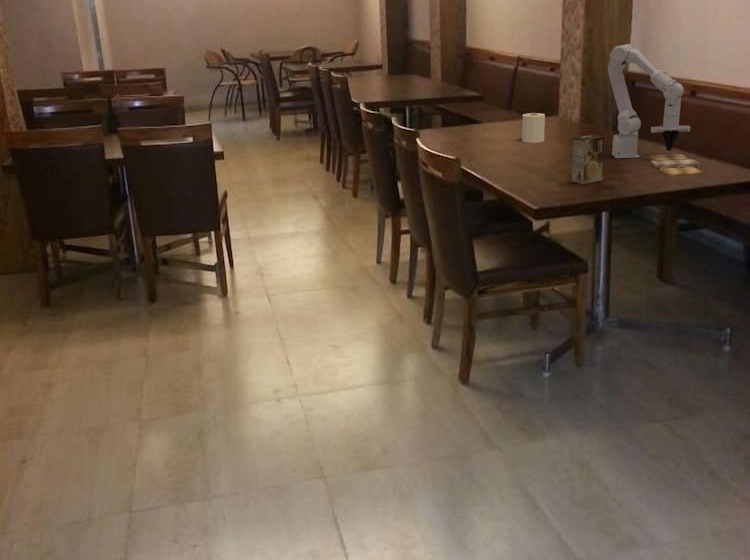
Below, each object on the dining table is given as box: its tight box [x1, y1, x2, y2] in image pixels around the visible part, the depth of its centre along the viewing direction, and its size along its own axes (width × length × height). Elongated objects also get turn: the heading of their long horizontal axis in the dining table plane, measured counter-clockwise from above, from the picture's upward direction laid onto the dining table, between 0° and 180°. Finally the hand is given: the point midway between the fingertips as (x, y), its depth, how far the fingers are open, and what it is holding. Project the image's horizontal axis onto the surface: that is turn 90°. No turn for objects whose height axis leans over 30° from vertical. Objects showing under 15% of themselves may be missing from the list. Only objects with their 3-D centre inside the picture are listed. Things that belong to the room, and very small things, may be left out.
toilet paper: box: [521, 112, 546, 144], centre depth 351 cm, size 10×10×12 cm
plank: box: [658, 167, 704, 177], centre depth 284 cm, size 13×9×1 cm
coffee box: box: [571, 134, 605, 185], centre depth 275 cm, size 9×6×16 cm
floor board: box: [650, 158, 700, 169], centre depth 294 cm, size 16×8×2 cm, turn 86°
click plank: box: [648, 153, 689, 161], centre depth 302 cm, size 13×9×1 cm
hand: (668, 150), depth 302 cm, fingers closed
